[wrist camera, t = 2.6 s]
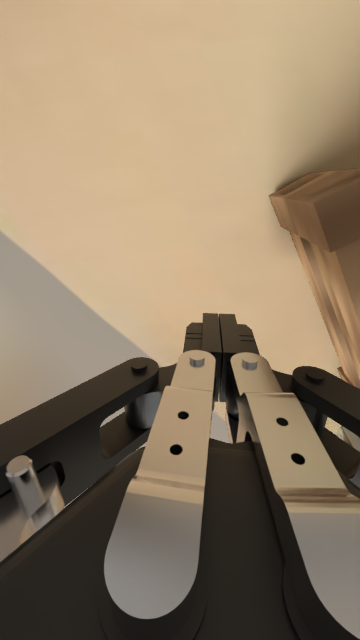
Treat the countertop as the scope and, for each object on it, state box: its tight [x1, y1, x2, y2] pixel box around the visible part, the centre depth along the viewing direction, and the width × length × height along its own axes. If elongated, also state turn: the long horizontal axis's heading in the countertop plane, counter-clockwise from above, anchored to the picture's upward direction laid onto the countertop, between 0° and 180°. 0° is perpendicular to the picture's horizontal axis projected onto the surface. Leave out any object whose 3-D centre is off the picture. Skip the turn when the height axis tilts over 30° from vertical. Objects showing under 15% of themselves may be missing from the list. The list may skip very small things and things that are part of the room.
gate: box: [269, 168, 360, 389], centre depth 16 cm, size 16×2×8 cm, turn 30°
